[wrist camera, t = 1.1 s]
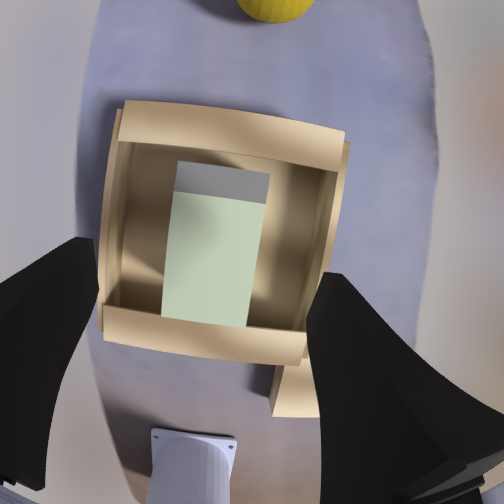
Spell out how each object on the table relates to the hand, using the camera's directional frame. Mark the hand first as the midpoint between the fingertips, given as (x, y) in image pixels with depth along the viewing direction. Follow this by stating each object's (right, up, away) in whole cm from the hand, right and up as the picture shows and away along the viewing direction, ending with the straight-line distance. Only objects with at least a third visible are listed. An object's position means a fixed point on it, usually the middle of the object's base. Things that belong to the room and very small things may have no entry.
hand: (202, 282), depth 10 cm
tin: (-1, +2, +12) cm, 12 cm away
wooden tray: (-1, +2, +12) cm, 13 cm away
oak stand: (+6, -9, +15) cm, 19 cm away
